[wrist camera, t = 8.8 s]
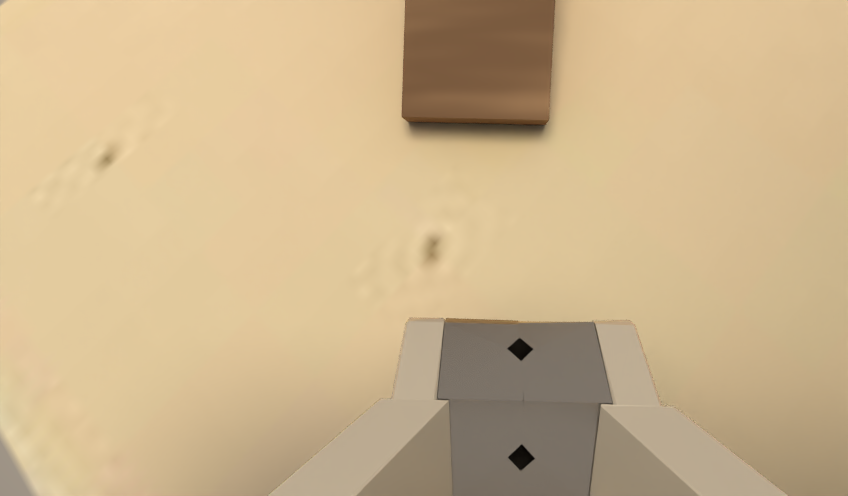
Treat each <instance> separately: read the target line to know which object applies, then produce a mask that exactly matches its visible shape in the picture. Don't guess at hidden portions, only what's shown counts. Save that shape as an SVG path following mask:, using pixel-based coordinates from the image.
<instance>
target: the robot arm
mask: <svg viewBox="0 0 848 496" xmlns="http://www.w3.org/2000/svg"><path fill="white" fill-rule="evenodd" d="M268 496H788V495H787V494H786V493H784V492H783V491H782V490H780V489H779V488H778V487H777V486H775V485H774V484H773V483H771V482H770V481H769V480H768V479H766V478H765V477H764V476H762V475H761V474H760V473H759V472H757V471H756V470H755V469H753V468H752V467H751V466H750V465H748V464H747V463H746V462H745V461H743V460H742V459H741V458H739V457H738V456H737V455H736V454H734V453H733V452H732V451H730V450H729V449H728V448H727V447H725V446H724V445H723V444H721V443H720V442H719V441H718V440H716V439H715V438H714V437H712V436H711V435H710V434H709V433H707V432H706V431H705V430H703V429H702V428H701V427H700V426H698V425H697V424H696V423H695V422H693V421H692V420H691V419H689V418H688V417H687V416H686V415H684V414H683V413H682V412H680V411H679V410H678V409H677V408H675V407H672V406H662V405H661V402H660V399H659V396H658V393H657V390H656V387H655V384H654V381H653V378H652V375H651V372H650V369H649V366H648V363H647V360H646V357H645V354H644V351H643V348H642V345H641V342H640V339H639V336H638V333H637V329H636V326H635V324H634V323H633V322H632V321H630V320H610V321H592V322H534V321H513V320H484V319H456V318H446V320H445V319H443V318H409V319H408V321H407V322H406V324H405V329H404V334H403V340H402V345H401V350H400V355H399V361H398V366H397V371H396V377H395V382H394V387H393V392H392V398H391V399H379V400H378V401H377V402H376V403H375V404H373V405H372V406H371V407H370V408H369V409H368V410H366V411H365V412H364V413H363V414H362V415H361V416H359V417H358V418H357V419H356V420H355V421H354V422H352V423H351V424H350V425H349V426H348V427H347V428H346V429H344V430H343V431H342V432H341V433H340V434H339V435H337V436H336V437H335V438H334V439H333V440H332V441H330V442H329V443H328V444H327V445H326V446H325V447H323V448H322V449H321V450H320V451H319V452H318V453H317V454H315V455H314V456H313V457H312V458H311V459H310V460H308V461H307V462H306V463H305V464H304V465H303V466H301V467H300V468H299V469H298V470H297V471H296V472H294V473H293V474H292V475H291V476H290V477H289V478H287V479H286V480H285V481H284V482H283V483H282V484H281V485H279V486H278V487H277V488H276V489H275V490H274V491H272V492H271V493H270V494H269V495H268Z"/></svg>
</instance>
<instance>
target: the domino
mask: <svg viewBox="0 0 848 496" xmlns="http://www.w3.org/2000/svg"><path fill="white" fill-rule="evenodd" d="M554 10H555V0H405V28H404V60H403V92H402V117H403V118H404V119H405V120H406V121H408V122H438V123H481V124H524V125H546V123H547V122H548V120H549V106H550V87H551V68H552V48H553V29H554Z"/></svg>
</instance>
